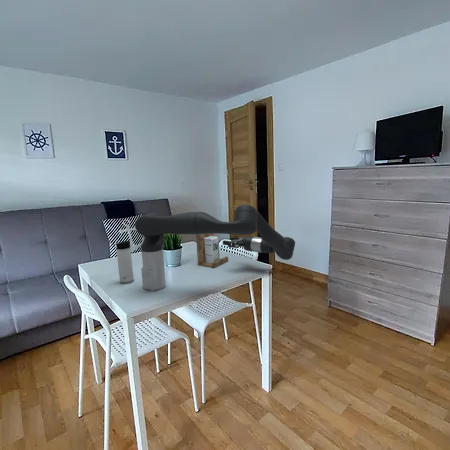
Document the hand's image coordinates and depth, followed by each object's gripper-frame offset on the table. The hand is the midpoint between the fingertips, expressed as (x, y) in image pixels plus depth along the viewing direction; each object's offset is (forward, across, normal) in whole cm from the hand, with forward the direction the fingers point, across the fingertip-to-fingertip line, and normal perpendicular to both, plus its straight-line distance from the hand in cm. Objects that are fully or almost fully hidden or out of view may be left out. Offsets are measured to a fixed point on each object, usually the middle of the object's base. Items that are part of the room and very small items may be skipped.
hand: (227, 240), depth 148 cm
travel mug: (+32, +41, +15) cm, 54 cm away
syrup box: (+10, -1, +14) cm, 18 cm away
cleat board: (+10, -1, +14) cm, 18 cm away
